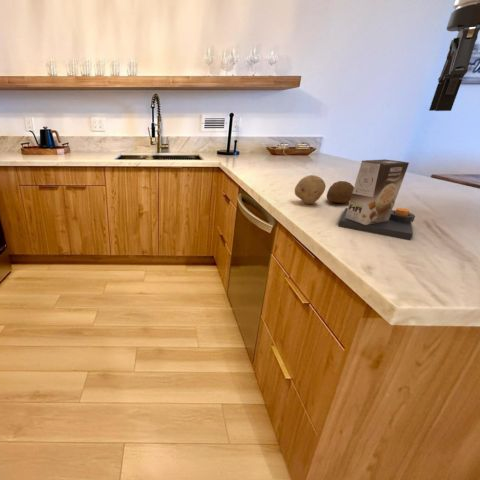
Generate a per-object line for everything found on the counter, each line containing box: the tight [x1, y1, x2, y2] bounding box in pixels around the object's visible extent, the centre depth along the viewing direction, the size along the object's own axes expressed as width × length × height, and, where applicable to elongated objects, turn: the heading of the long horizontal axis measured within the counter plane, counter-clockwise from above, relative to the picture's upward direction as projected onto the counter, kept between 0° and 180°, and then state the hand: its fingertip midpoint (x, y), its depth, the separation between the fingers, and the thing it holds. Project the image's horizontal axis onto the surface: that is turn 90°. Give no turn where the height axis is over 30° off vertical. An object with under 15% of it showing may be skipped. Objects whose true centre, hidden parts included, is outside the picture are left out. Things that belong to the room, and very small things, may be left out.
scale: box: [337, 207, 416, 241], centre depth 81 cm, size 16×14×4 cm
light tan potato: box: [294, 174, 326, 205], centre depth 98 cm, size 9×9×10 cm
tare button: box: [395, 207, 411, 216], centre depth 80 cm, size 3×3×2 cm
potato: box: [326, 180, 355, 204], centre depth 100 cm, size 8×12×8 cm, turn 139°
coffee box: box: [345, 159, 410, 225], centre depth 77 cm, size 9×6×16 cm
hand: (438, 110), depth 73 cm, fingers open, 13 cm apart
